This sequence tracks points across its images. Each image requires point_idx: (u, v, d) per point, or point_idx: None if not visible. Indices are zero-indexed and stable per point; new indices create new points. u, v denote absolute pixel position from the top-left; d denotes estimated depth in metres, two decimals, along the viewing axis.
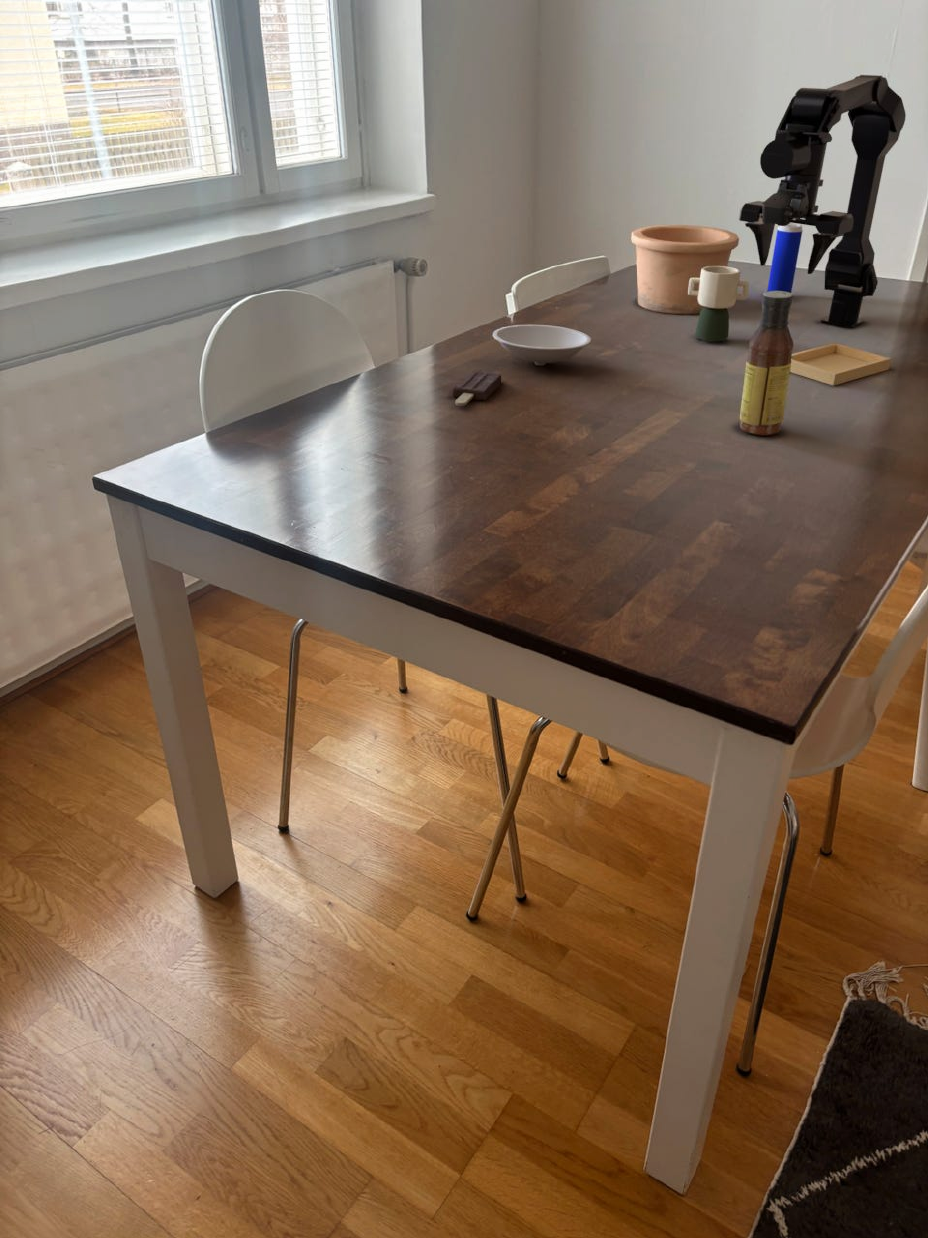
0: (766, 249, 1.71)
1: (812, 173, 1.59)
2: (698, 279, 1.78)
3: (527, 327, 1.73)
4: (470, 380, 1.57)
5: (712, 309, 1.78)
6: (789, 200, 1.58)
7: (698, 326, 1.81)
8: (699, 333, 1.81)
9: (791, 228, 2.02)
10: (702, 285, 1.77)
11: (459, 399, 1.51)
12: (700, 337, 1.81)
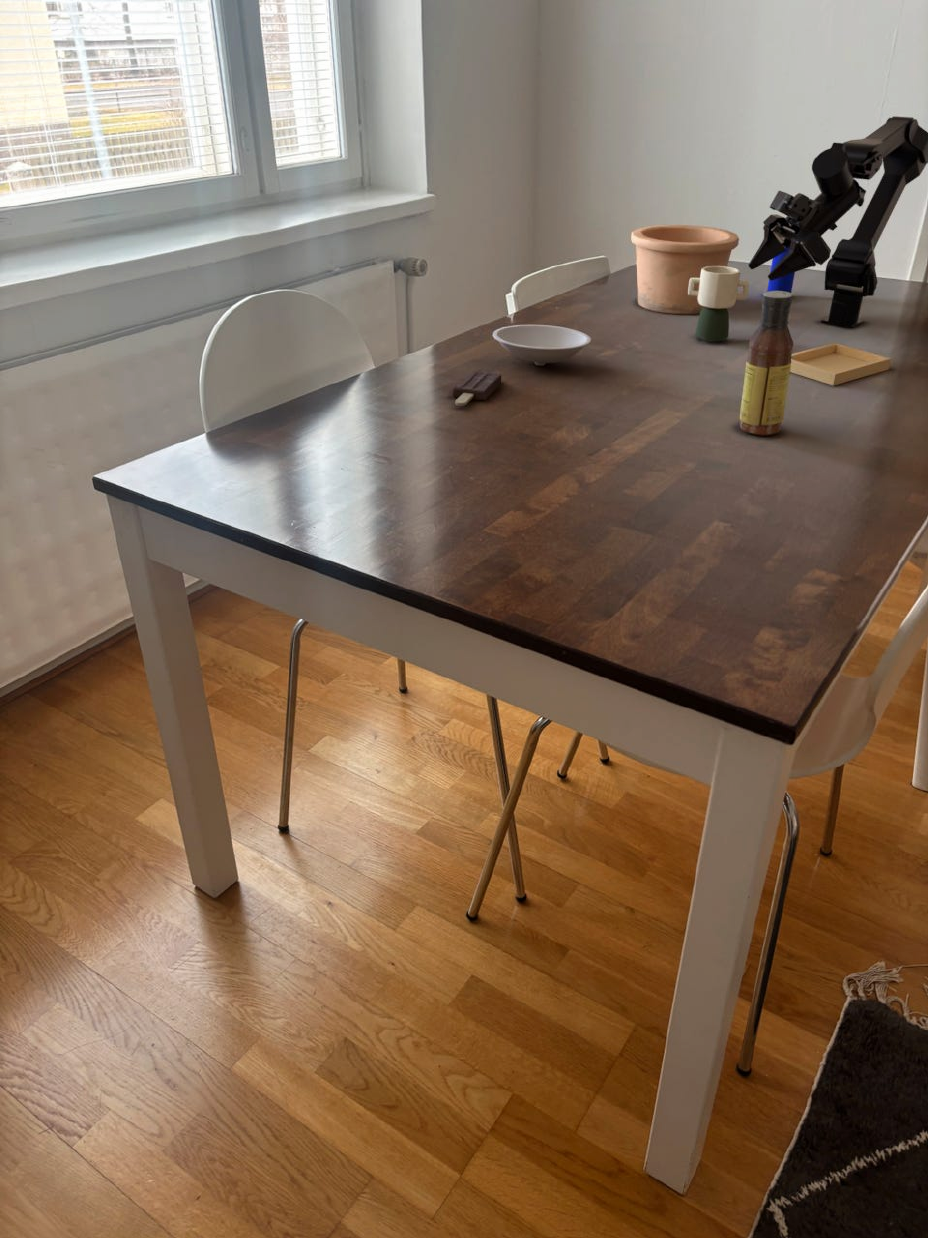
0: (762, 258, 1.81)
1: (836, 209, 1.70)
2: (698, 279, 1.78)
3: (527, 327, 1.73)
4: (470, 380, 1.57)
5: (712, 309, 1.78)
6: None
7: (698, 326, 1.81)
8: (699, 333, 1.81)
9: None
10: (702, 285, 1.77)
11: (459, 399, 1.51)
12: (700, 337, 1.81)
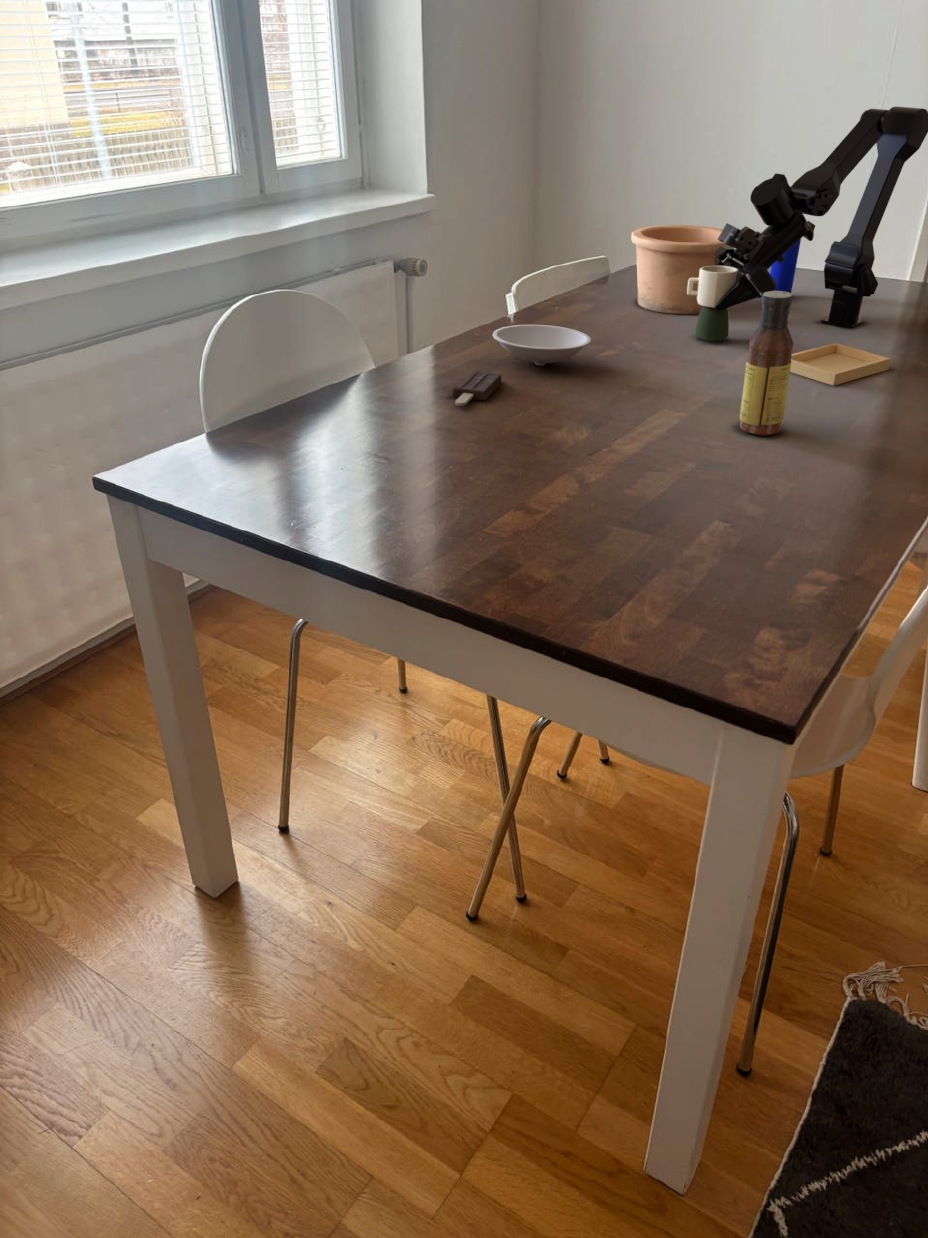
0: None
1: (780, 239, 1.72)
2: (697, 279, 1.78)
3: (527, 327, 1.73)
4: (470, 380, 1.57)
5: (711, 308, 1.78)
6: None
7: (698, 326, 1.81)
8: (699, 333, 1.81)
9: None
10: (701, 285, 1.77)
11: (459, 399, 1.51)
12: (700, 337, 1.81)
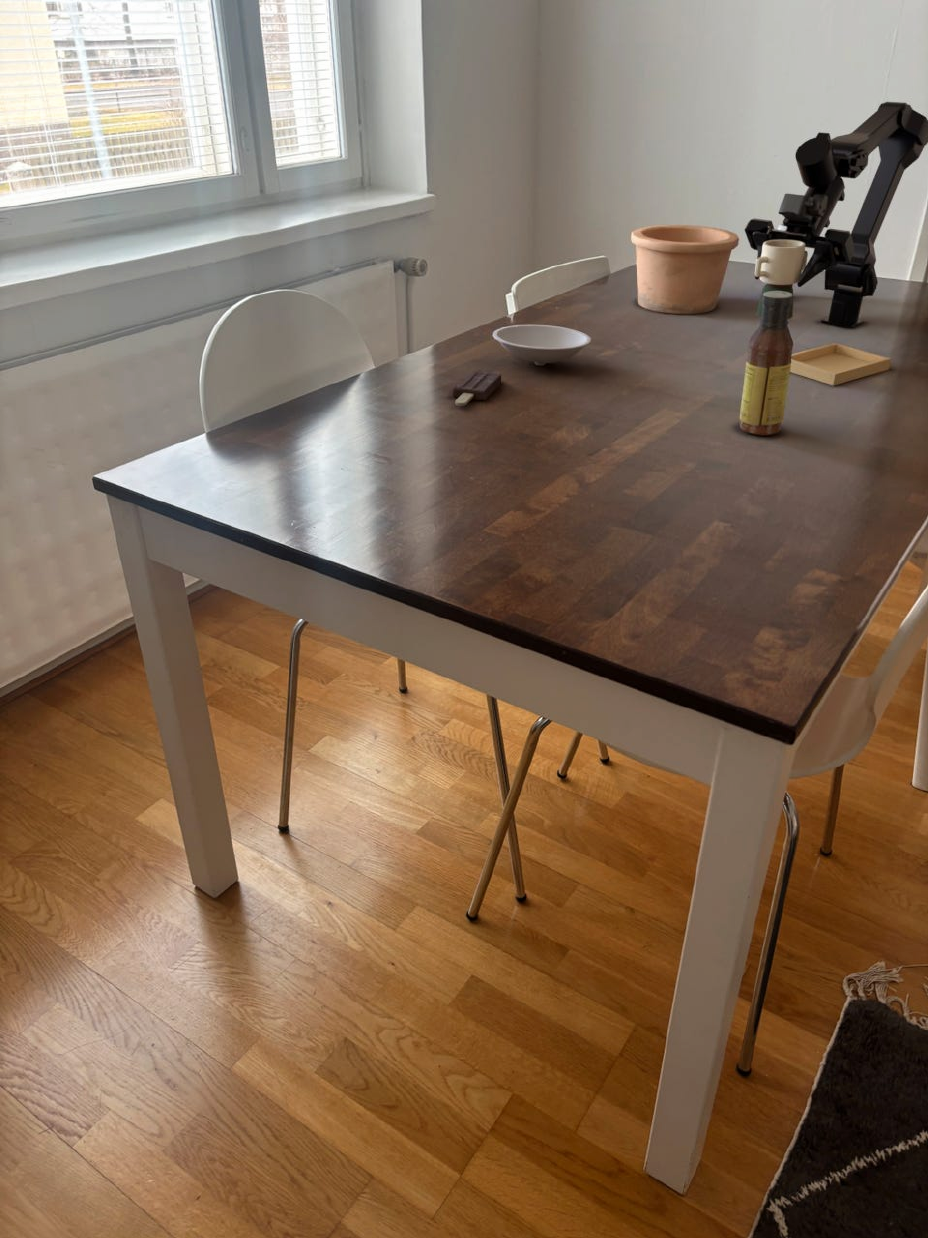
0: None
1: (829, 199, 1.66)
2: (766, 258, 1.65)
3: (527, 327, 1.73)
4: (470, 380, 1.57)
5: (784, 286, 1.67)
6: None
7: None
8: None
9: None
10: (776, 263, 1.64)
11: (459, 399, 1.51)
12: None
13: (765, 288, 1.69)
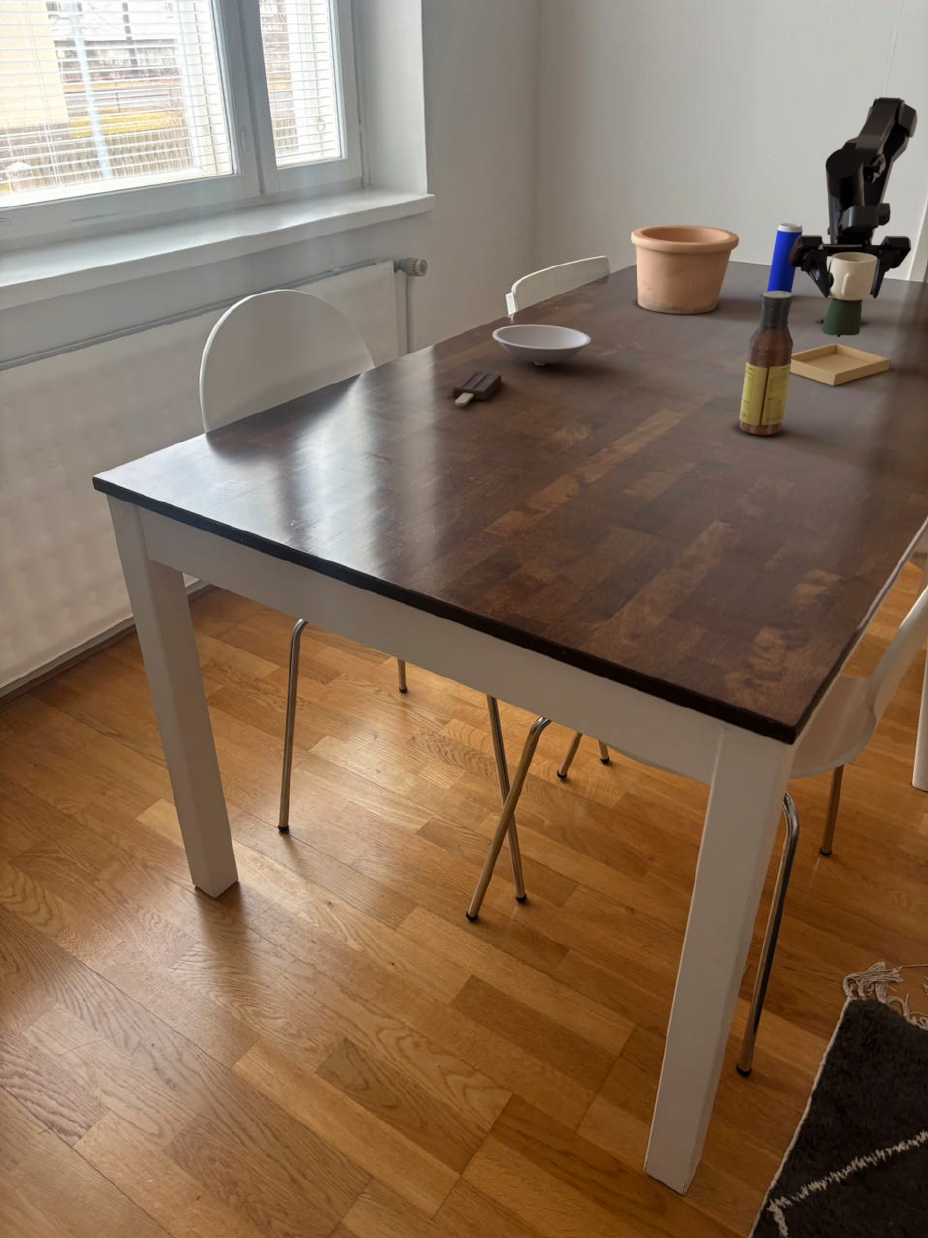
0: None
1: (861, 204, 1.62)
2: (851, 274, 1.56)
3: (527, 327, 1.73)
4: (470, 380, 1.57)
5: (858, 300, 1.61)
6: None
7: (849, 324, 1.62)
8: (852, 330, 1.62)
9: (791, 228, 2.02)
10: (862, 278, 1.57)
11: (459, 399, 1.51)
12: (854, 333, 1.63)
13: (840, 305, 1.61)
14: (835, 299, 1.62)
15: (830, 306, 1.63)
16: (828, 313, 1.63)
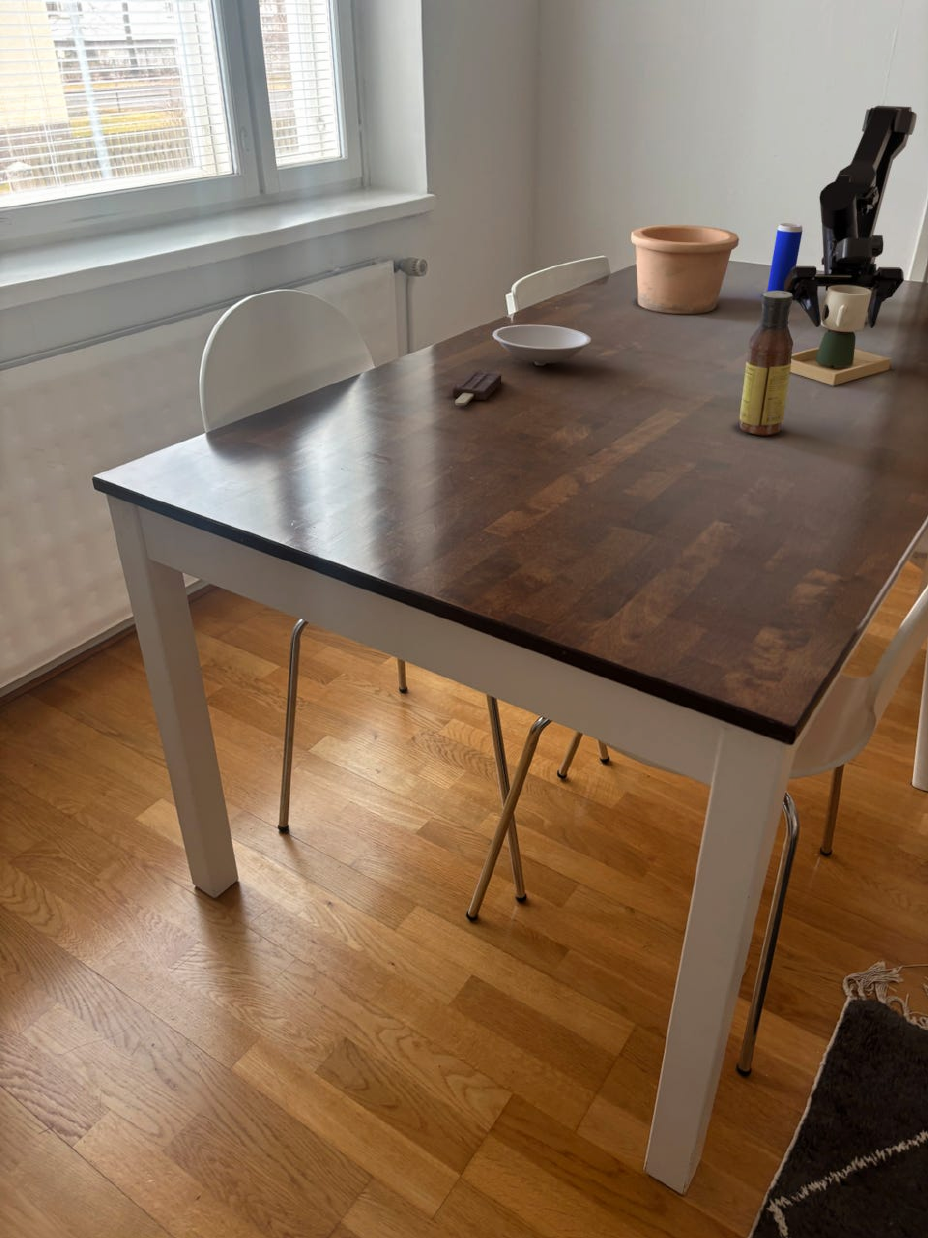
0: None
1: (854, 235, 1.64)
2: (846, 306, 1.59)
3: (527, 327, 1.73)
4: (470, 380, 1.57)
5: (852, 332, 1.64)
6: None
7: (842, 355, 1.64)
8: (846, 361, 1.65)
9: (791, 228, 2.02)
10: (856, 310, 1.60)
11: (459, 399, 1.51)
12: (847, 364, 1.66)
13: (834, 336, 1.64)
14: (830, 330, 1.65)
15: (824, 337, 1.66)
16: (822, 344, 1.66)
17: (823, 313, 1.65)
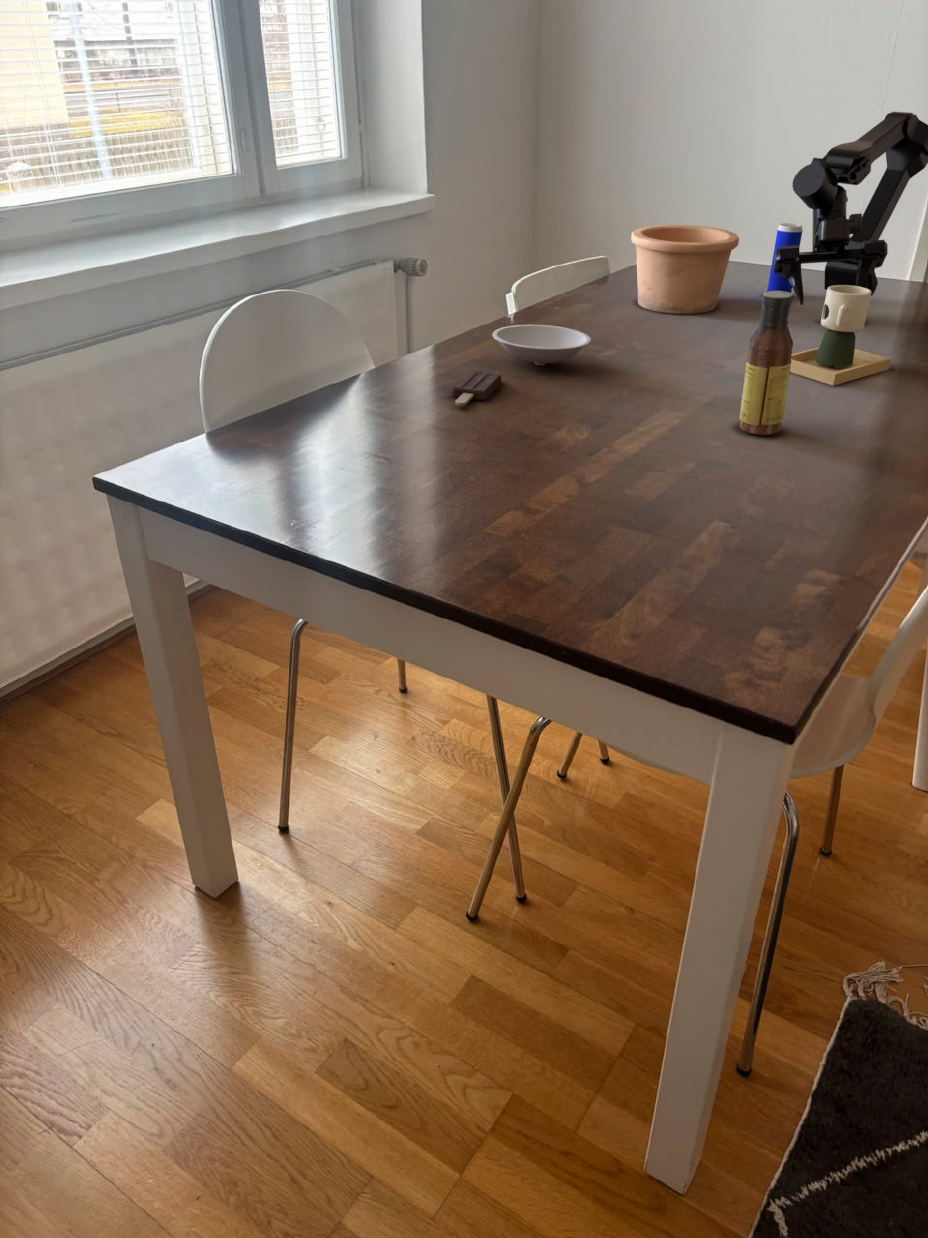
0: None
1: (839, 210, 1.70)
2: (846, 306, 1.59)
3: (527, 327, 1.73)
4: (470, 380, 1.57)
5: (852, 332, 1.64)
6: None
7: (842, 355, 1.64)
8: (846, 361, 1.65)
9: (791, 228, 2.02)
10: (856, 310, 1.60)
11: (459, 399, 1.51)
12: (847, 364, 1.66)
13: (834, 336, 1.64)
14: (829, 330, 1.65)
15: (824, 337, 1.66)
16: (822, 344, 1.66)
17: (823, 313, 1.65)
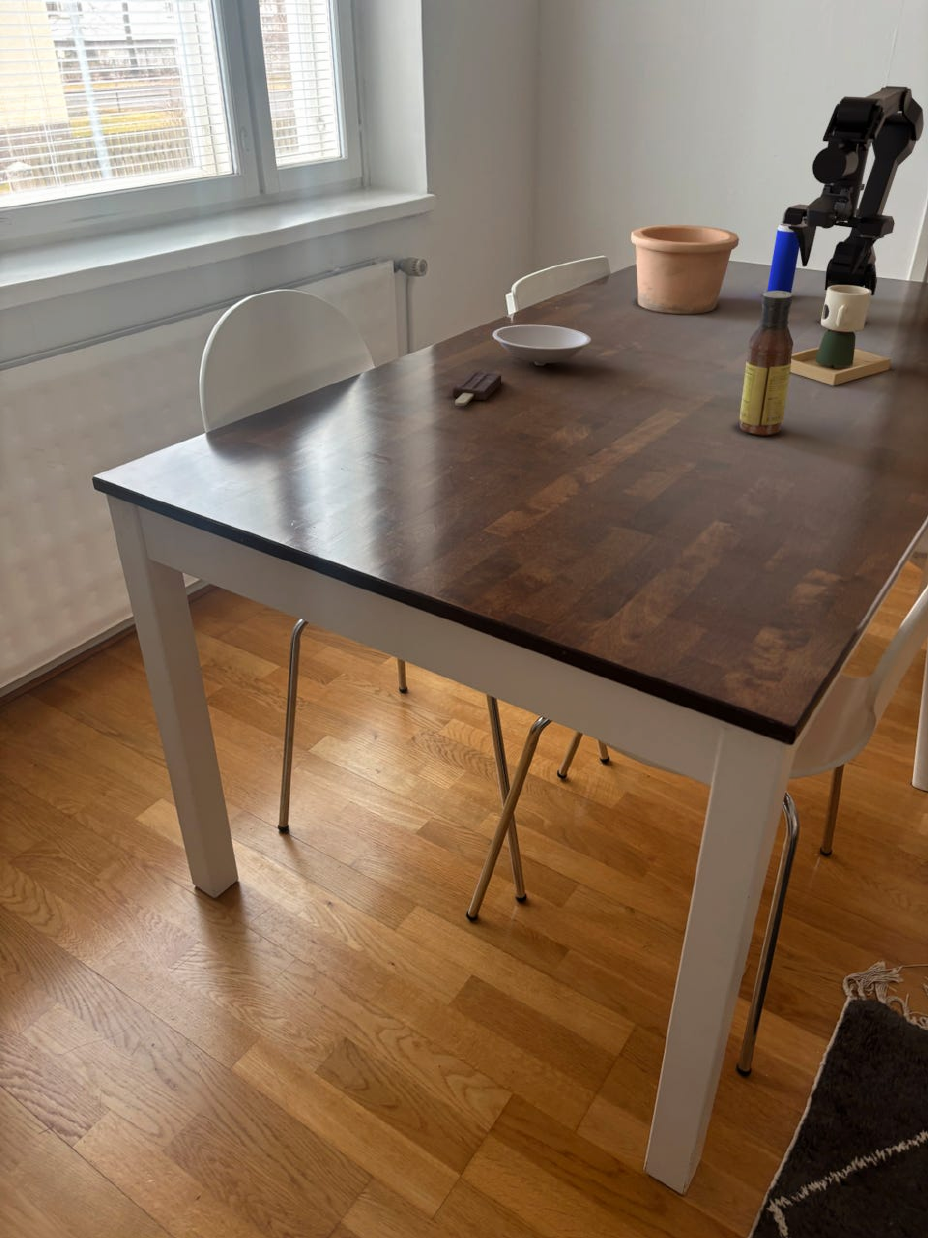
0: (808, 251, 1.78)
1: (856, 178, 1.66)
2: (846, 306, 1.59)
3: (527, 327, 1.73)
4: (470, 380, 1.57)
5: (852, 332, 1.64)
6: (833, 204, 1.65)
7: (842, 355, 1.64)
8: (846, 361, 1.65)
9: None
10: (856, 310, 1.60)
11: (459, 399, 1.51)
12: (847, 364, 1.66)
13: (834, 336, 1.64)
14: (829, 330, 1.65)
15: (824, 337, 1.66)
16: (822, 344, 1.66)
17: (823, 313, 1.65)
